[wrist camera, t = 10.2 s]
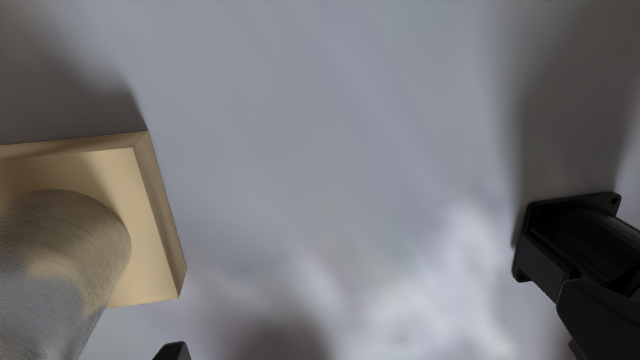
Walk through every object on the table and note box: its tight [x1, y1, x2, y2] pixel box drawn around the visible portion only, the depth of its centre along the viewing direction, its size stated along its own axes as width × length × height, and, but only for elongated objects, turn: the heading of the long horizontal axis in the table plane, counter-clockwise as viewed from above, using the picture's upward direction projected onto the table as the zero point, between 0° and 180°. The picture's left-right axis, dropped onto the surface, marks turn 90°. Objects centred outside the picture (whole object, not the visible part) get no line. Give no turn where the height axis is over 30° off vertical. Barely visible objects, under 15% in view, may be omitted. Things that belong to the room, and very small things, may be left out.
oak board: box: [0, 131, 187, 309], centre depth 19 cm, size 9×9×2 cm
